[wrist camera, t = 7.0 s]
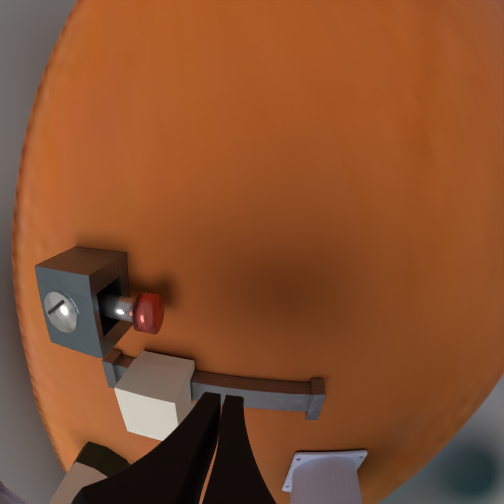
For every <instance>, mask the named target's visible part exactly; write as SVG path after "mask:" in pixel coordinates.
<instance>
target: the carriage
mask: <svg viewBox="0 0 504 504" xmlns="http://www.w3.org/2000/svg"><path fill="white" fill-rule="evenodd" d="M194 369H195V367H194V360H188V359H182V358H177V357H171V356H166V355H161V354H156V353H151V352H147V351H141V353H140V354H139V356H138V357H137V358H136V359H134V360H133V362H132V363H131V364H130V366H129V367H128V369H127V370H126V372H125V373H124V374H123V376H122V377H121V379H120V380H119V382H118V383H117V384H116V386H115V387H114V389H115V392H116V396H117V399H118V403H119V406H120V409H121V413H122V416H123V419H124V422H125V425H126V428H127V431H129V432H133V433H136V434H139V435H143V436H146V437H150V438H153V439H157V440H161V441H163V440H164V439H165V438H166V437H167V436H168V435H169V434H171V433H172V432H173V431H174V430H175V429H176V427H177V426H178V425H179V424H180V423H181V422H182V421H183V420H184V418H185V417H186V416H187V415H188V414H189V413H190V411H191V410H192V409H193V407H194V405H195V402H196V400H194V399H191V390H190V379H191V377H192V374H193V372H194Z"/></svg>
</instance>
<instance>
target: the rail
mask: <svg viewBox="0 0 504 504" xmlns="http://www.w3.org/2000/svg"><path fill="white" fill-rule="evenodd" d="M134 359H136V358H131V357H127V356H123V354H122V351H121V350H117V349H113V348H112V349H111V351H110V352H109V353H108V354H107V355H106V356H105V358H104V359H103V360H102V363H103V367H104V371H105V375H106V379H107V382H108V386H109V387H111V388H114V387H115V386H116V384H117V383H118V382H119V380H120V379H121V377H122V376H123V374H124V373H125V372H126V370H127V369H128V367H129V366H130V364H131V363H132V362H133V360H134ZM190 390H191V399H194V400H199V399H200V397H201V396H202V394H203V393H204V392H212V393H219V394H221V404H223V403H224V400H225V397H226V395H233V396H241V397H243V398H244V407H249V408H259V409H270V410H284V411H305V419H306V420H318V417H319V414H320V411H321V408H322V405H323V402H324V399H325V396H326V393H325V387H324V382H323V379H322V378H311V379H310V383H307V382H289V381H276V380H264V379H254V378H245V377H236V376H228V375H221V374H214V373H207V372H201V371H195V370H194V372H193V374H192V377H191V379H190Z"/></svg>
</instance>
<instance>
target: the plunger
mask: <svg viewBox="0 0 504 504" xmlns="http://www.w3.org/2000/svg"><path fill="white" fill-rule="evenodd" d="M98 308H99V314H100V315H101V316H105V317H109V318H114V319H119V320H123V321H128V322H133V326H134V328H135V330H136V331H140V332H145V333H150V334H157V333H158V332H159V330H160V328H161V326H162V322H163V318H164V301H163V298H162V296H161V295H158V294H152V293H145V292H141V293H139V294H138V296H137V297H136V299H135V298H129V297H124V296H118V295H112V294H107V293H102V294H101V295H100V297H99V299H98Z"/></svg>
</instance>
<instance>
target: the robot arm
mask: <svg viewBox="0 0 504 504" xmlns="http://www.w3.org/2000/svg"><path fill="white" fill-rule="evenodd" d="M218 436H219V439H218ZM217 441H218V447H217V453H216V457H215V461H214V465H213V468H212V472H211V476H210V479H209V482H208V486H207V489H206V493H205V496H204V499H203V502H202V504H276V502H275V500H274V499H273V497H272V495H271V493H270V492H269V490H268V488H267V486H266V484H265V482H264V480H263V478H262V476H261V474H260V471H259V469H258V466H257V464H256V461H255V458H254V456H253V453H252V449H251V446H250V443H249V439H248V435H247V430H246V425H245V419H244V398H243V397H241V396H233V395H226V397H225V400H224V403H223V406H222V413H221V394H219V393H212V392H204V393H203V394H202V396H201V397H200V399H199V400H198V402H197V403H196V405H195V406H194V407H193V409H192V410H191V411H190V413H189V414H188V415H187V416H186V417H185V418H184V420H183V421H182V422H181V423H180V424H179V425H178V426H177V427H176V429H175V430H174V431H173V432H172V433H171V434H169V435H168V436H167V437H166V438H165V439H164V440H163V441H162V442H161V443H160V444H159V445H158V446H156V447H155V448H154V449H153V450H151V451H150V452H149V453H148V454H146V455H145V456H143V457H142V458H141V459H139V460H138V461H136V462H135V463H133V464H132V465H130V466H128V467H127V468H125V469H123V470H121V471H119V472H117V473H115V474H113V475H111V476H109V477H107V478H105V479H103V480H100V481H98V482H95V483H92V484H90V485H87V486H84V487H82V488H81V489H80V491H79V492H78V493H77V495H76V496H75V497H74V499H73V501H72V503H71V504H199V501H200V496H201V492H202V489H203V485H204V482H205V479H206V476H207V473H208V470H209V467H210V464H211V461H212V458H213V455H214V452H215V449H216V446H217ZM366 455H367V451H366V450H358V451H342V452H297V453H295V454H294V457H293V460H292V463H291V466H290V469H289V471H288V474H287V477H286V479H285V482H284V485H283V487H282V490H283V491H290V504H362V498H361V492H360V486H359V481H358V475H357V469H358V468H359V466H360V465H361V463H362V462H363V460H364V459H365V457H366ZM0 504H28V503H26V502H25V501H24V500H22V499H21V498H19V497H18V496H17V495H15V494H14V493H13V492H11V491H10V490H9V489H8V488H6V487H5V486H4V485H3V484H2V482H1V481H0Z"/></svg>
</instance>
